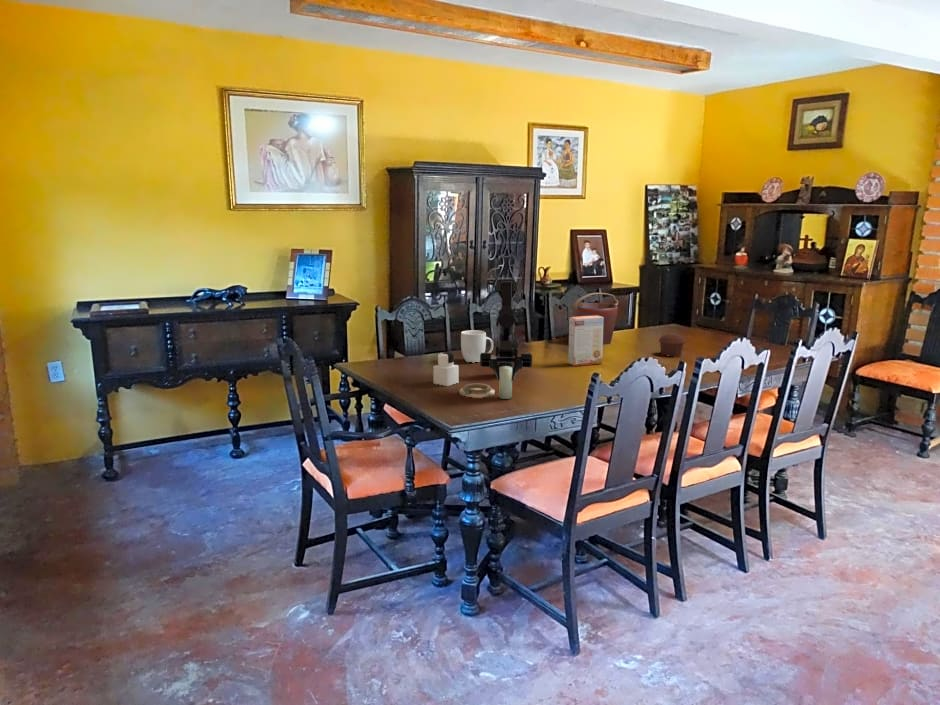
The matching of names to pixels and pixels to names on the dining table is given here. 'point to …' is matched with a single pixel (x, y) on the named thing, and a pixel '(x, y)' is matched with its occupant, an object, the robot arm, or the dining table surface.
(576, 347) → the cracker box
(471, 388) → the flange plate
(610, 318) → the bucket
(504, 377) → the post
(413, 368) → the dining table surface
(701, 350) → the dining table surface
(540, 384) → the dining table surface
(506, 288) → the robot arm
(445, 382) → the medicine bottle
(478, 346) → the mug
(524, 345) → the dining table surface
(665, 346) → the muffin
